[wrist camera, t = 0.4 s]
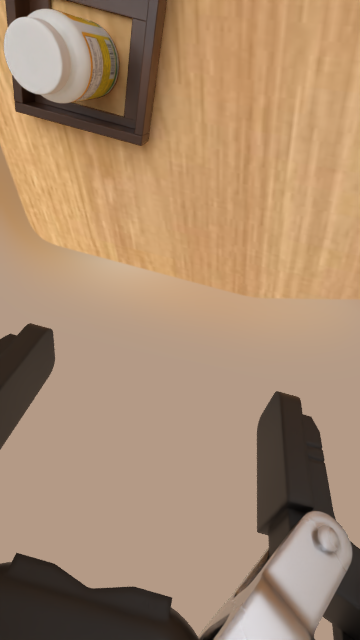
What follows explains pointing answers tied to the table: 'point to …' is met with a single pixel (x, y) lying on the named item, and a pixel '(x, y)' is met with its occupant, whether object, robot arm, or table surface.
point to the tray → (147, 26)
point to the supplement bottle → (61, 56)
